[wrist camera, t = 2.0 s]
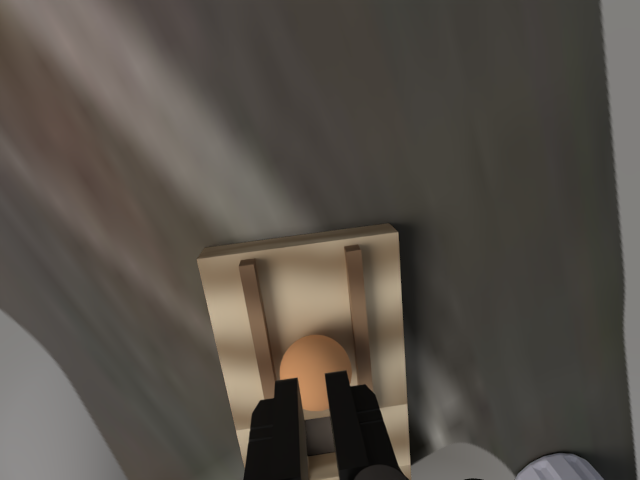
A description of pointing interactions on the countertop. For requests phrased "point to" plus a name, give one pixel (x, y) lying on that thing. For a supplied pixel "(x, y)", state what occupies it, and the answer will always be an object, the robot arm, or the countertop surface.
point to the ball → (314, 368)
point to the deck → (310, 320)
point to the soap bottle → (559, 469)
